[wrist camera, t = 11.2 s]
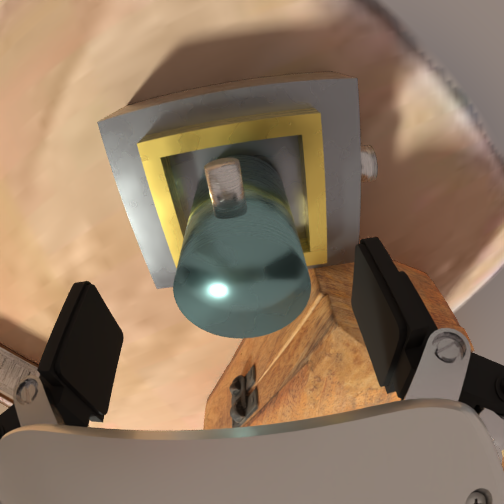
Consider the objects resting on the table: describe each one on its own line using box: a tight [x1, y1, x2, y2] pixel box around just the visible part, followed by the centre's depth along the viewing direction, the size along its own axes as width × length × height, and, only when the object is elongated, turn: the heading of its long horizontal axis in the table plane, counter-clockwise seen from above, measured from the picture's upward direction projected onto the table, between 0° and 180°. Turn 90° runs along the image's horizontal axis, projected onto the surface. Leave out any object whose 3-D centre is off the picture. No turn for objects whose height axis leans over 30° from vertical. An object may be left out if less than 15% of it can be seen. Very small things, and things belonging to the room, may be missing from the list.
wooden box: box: [203, 260, 474, 430], centre depth 29 cm, size 30×16×14 cm, turn 158°
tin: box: [0, 344, 40, 408], centre depth 33 cm, size 15×3×8 cm, turn 55°
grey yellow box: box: [97, 71, 377, 289], centre depth 19 cm, size 12×16×6 cm
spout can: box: [173, 155, 311, 338], centre depth 14 cm, size 7×5×8 cm
